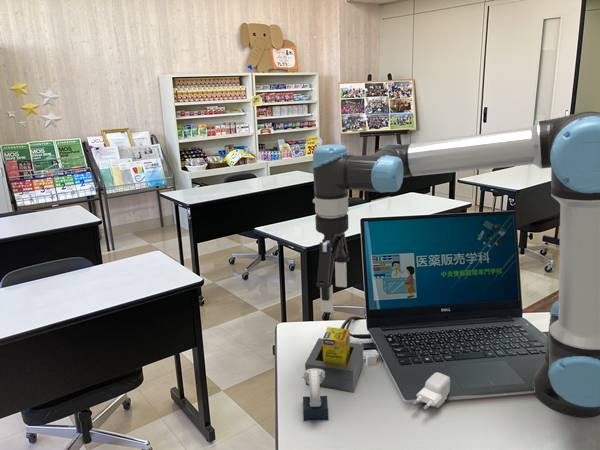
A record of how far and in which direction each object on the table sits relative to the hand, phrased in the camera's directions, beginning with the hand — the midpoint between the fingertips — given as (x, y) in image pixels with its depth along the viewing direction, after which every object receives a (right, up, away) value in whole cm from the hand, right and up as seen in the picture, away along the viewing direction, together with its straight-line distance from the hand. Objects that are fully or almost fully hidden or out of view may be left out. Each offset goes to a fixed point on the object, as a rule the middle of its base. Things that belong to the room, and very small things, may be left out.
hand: (334, 298), depth 114 cm
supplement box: (+1, -20, +7) cm, 21 cm away
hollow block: (+1, -20, +7) cm, 22 cm away
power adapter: (+22, -24, -6) cm, 33 cm away
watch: (-5, -25, -7) cm, 27 cm away
